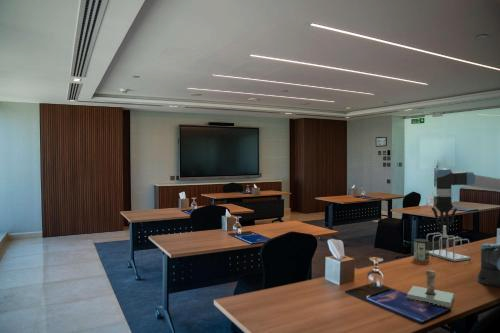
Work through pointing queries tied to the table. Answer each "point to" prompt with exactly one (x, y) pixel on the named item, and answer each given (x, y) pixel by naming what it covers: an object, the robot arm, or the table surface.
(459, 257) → the file sorter
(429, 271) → the peg
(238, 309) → the table surface
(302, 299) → the table surface
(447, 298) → the board
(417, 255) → the coffee can
